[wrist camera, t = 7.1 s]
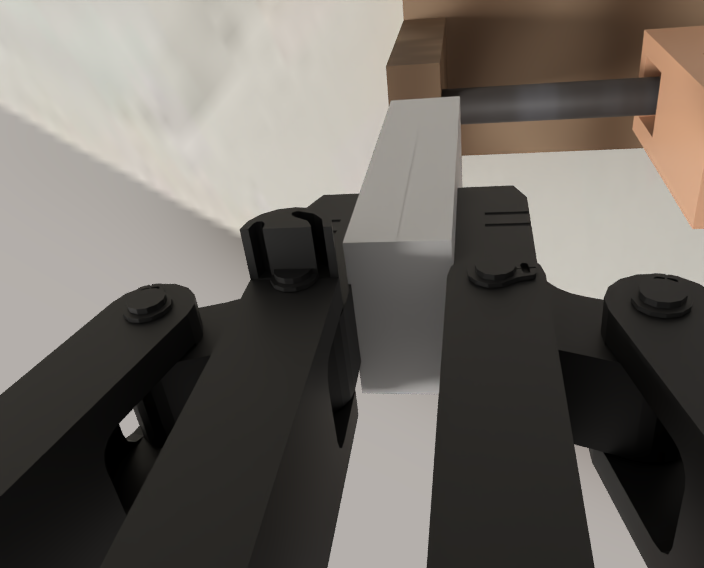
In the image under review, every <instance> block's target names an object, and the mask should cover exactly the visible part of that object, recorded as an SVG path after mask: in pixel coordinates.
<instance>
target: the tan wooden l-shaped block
mask: <svg viewBox="0 0 704 568" xmlns="http://www.w3.org/2000/svg"><path fill="white" fill-rule="evenodd" d="M658 76H661V80H660V87H659V94H658V101H657V109H656V115H643V116H634V120H633V128H632V130H633V131H634V133H635V135H636V136H637V138H638V140H639V141H640V143H641V145H642V146H643V148H644V150H645V151H646V153H647V154H648V156H649V158H650V159H651V161H652V163H653V164H654V166H655V168H656V169H657V171H658V173H659V174H660V176H661V178H662V179H663V181H664V183H665V184H666V186H667V188H668V189H669V191H670V193H671V194H672V196H673V197H674V199H675V201H676V202H677V204H678V206H679V207H680V209H681V211H682V212H683V214H684V216H685V217H686V219H687V221H688V222H689V224H690V226H691V227H692V229H704V26H689V27H675V28H661V29H647V30H644V37H643V46H642V54H641V62H640V70H639V78H641V77H658Z"/></svg>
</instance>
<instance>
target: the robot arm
mask: <svg viewBox="0 0 704 568" xmlns="http://www.w3.org/2000/svg"><path fill="white" fill-rule="evenodd" d="M240 233H241V237H242V242H243V246H244V251H245V256H246V260H247V265H248V269H249V274H250V278H251V280H250V282H249V284H248V286H247V288H246V289H245V291H244V293H243V295H242V297H241V299H238V300H234V301H230V302H227V303H222V304H216V305H211V306H207V307H201V308H198V305H197V302H196V298H195V295H194V294H193V293H192V292H191V290H189V288H187V287H183V286H180V285H177V284H152V286H150V285H147V286H143V287H140V288H138V289H137V290H135V291H132V292H129V293H127V294H125V295H123V296H122V297H120V298H119V299H117V300H115V301H114V302H112V303H111V304H110V305H109V306H107V307H106V308H105V309H104V310H103V311H101V312H100V313H99V314H98V315H97V316H95V317H94V318H93V319H92V320H90V322H88V323H87V324H86V325H84V326H83V327H82V328H81V329H80V330H78V331H77V332H76V333H75V334H74V335H72V336H71V337H70V338H69V339H68V340H66V341H65V342H64V343H63V344H61V345H60V346H59V347H58V348H57V349H56V350H54V351H53V352H52V353H51V354H49V355H48V356H47V357H46V358H45V359H43V360H42V361H41V362H40V363H38V364H37V365H36V366H35V367H34V368H32V369H31V370H30V371H29V372H28V373H26V374H25V375H24V376H23V377H21V378H20V379H19V380H18V381H17V382H15V383H14V384H13V385H12V386H11V387H9V388H8V389H7V390H6V391H5V392H3V393H2V394H1V395H0V568H327V567H328V562H329V557H330V552H331V547H332V542H333V537H334V532H335V527H336V522H337V518H338V513H339V508H340V503H341V498H342V492H343V488H344V482H345V478H346V473H347V468H348V463H349V458H350V454H351V449H352V444H353V439H354V434H355V428H356V424H357V419H358V408H357V400H356V392H355V387H356V382H357V378H358V373H359V370H360V378H361V385H362V393H382V394H439V399H438V413H437V428H436V442H435V456H434V470H433V471H434V472H433V485H432V500H431V514H430V528H429V544H428V557H427V568H594V562H593V556H592V550H591V544H590V538H589V532H588V526H587V520H586V514H585V508H584V502H583V496H582V490H581V484H580V478H579V472H578V467H577V460H576V454H575V448H574V444H576V445H579V446H583V447H587V448H589V451H590V456H591V459H592V463H593V465H594V467H595V469H596V470H597V472H598V474H599V476H600V478H601V480H602V482H603V484H604V486H605V488H606V489H607V491H608V493H609V495H610V497H611V499H612V501H613V503H614V504H615V506H616V508H617V510H618V512H619V514H620V516H621V518H622V520H623V521H624V523H625V525H626V527H627V529H628V531H629V533H630V535H631V537H632V539H633V540H634V542H635V544H636V546H637V548H638V550H639V552H640V554H641V556H642V557H643V559H644V561H645V563H646V565H647V567H648V568H704V287H703V286H702V285H700V284H698V283H695V282H692V281H689V280H687V279H684V278H681V277H678V276H674V275H669V274H668V275H666V274H657V273H655V274H640V275H634V276H630V277H626V278H623V279H620V280H618V281H617V282H615V283H614V284H612V285H611V286H609V287H608V289H607V292H606V294H605V296H604V300H601V299H596V298H590V297H584V296H580V295H576V294H572V293H569V292H566V291H564V290H561V289H559V288H556V287H555V286H553V285H552V284H550V283H549V282H547V280H546V274H545V272H544V271H543V269H542V267H541V265H540V264H538V263H537V259H536V253H535V246H534V240H533V234H532V227H531V221H530V214H529V208H528V202H527V197H526V196H525V195H524V194H522V193H521V192H520V191H519V190H518V189H517V188H515V187H514V186H491V187H465V188H462V156H461V119H460V96H454V97H439V98H424V99H408V100H393V101H391V102H390V105H389V108H388V111H387V114H386V117H385V120H384V123H383V126H382V129H381V132H380V135H379V138H378V140H377V143H376V146H375V149H374V152H373V155H372V158H371V161H370V164H369V167H368V170H367V173H366V176H365V179H364V182H363V184H362V187H361V190H360V193H359V194H340V195H323V196H322V197H320V198H319V199H318V200H316V201H315V202H314V203H312V204H311V205H310V206H308V207H307V208H299V207H294V208H286V209H278V210H274V211H271V212H268V213H264V214H261V215H259V216H257V217H255V218H253V219H251V220H249V221H248V222H247V223H246V224H245V225H244V226H243V227H242V228H241V229H240ZM132 409H134V412H135V414H136V417H137V420H138V422H139V425H140V426H139V427H138V428H137V429H136V430H135V432H134V433H132V434H131V435H130V436H128V437H127V438H125V437H124V435H123V433H122V431H121V428H120V426H119V423H120V422H121V421H122V420H123V419H124V418H125V417H126V415H127V414H128V413H129V412H130V411H131V410H132Z"/></svg>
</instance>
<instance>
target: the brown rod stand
mask: <svg viewBox="0 0 704 568" xmlns="http://www.w3.org/2000/svg"><path fill="white" fill-rule="evenodd" d="M403 14H404V21H403V24H402V26H401V29H400V31H399V34H398V37H397V39H396V42H395V45H394V47H393V50H392V52H391V55H390V58H389V60H388V63H387V65H386V71H387V85H388V99H389V105H390V102H391V101H393V100H408V99H424V98H439V97H454V96H460V119H461V156H463V155H487V154H511V153H535V152H559V151H583V150H607V149H631V148H643V146H642V145H641V143H640V141H639V140H638V138H637V136H636V135H635V133H634V131H633V130H632V128H633V120H634V116H643V115H656V109H657V101H658V94H659V87H660V80H661V76H658V77H641V78H639V70H640V62H641V54H642V46H643V37H644V30H647V29H661V28H675V27H689V26H704V0H403Z"/></svg>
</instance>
